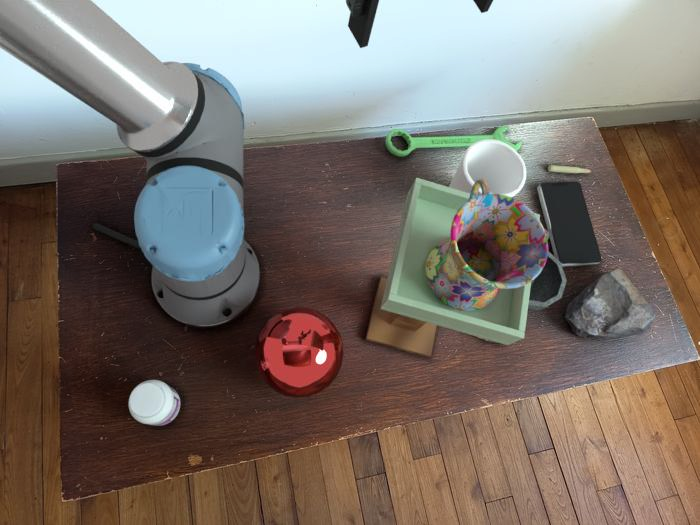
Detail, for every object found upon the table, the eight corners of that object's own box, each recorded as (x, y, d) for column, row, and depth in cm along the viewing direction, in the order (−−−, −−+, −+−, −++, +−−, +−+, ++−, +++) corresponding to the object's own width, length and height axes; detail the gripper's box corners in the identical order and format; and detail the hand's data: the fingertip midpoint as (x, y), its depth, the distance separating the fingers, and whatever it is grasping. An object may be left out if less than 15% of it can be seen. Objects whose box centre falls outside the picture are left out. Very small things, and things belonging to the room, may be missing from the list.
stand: (364, 339, 80) (404, 295, 58) (379, 278, 84) (422, 214, 61) (428, 357, 81) (491, 320, 58) (440, 296, 84) (504, 239, 62)
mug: (507, 315, 58) (557, 287, 48) (424, 317, 56) (458, 288, 46) (490, 214, 62) (534, 168, 52) (412, 213, 60) (442, 166, 50)
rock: (603, 263, 91) (623, 252, 86) (654, 312, 89) (678, 303, 84) (553, 318, 86) (571, 310, 81) (607, 371, 84) (628, 365, 79)
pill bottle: (133, 398, 72) (114, 390, 63) (170, 378, 74) (157, 368, 65) (150, 434, 71) (134, 431, 62) (187, 413, 73) (177, 407, 64)
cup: (443, 171, 92) (469, 129, 80) (496, 189, 92) (531, 150, 80) (430, 221, 88) (456, 185, 76) (486, 240, 89) (521, 207, 77)
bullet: (549, 172, 95) (591, 175, 96) (552, 166, 94) (593, 169, 95) (547, 169, 96) (588, 172, 97) (549, 163, 95) (591, 167, 96)
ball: (251, 400, 75) (248, 390, 63) (258, 316, 79) (257, 293, 68) (336, 403, 76) (348, 394, 65) (339, 321, 80) (351, 299, 69)
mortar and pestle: (550, 313, 86) (593, 292, 75) (497, 322, 84) (533, 302, 73) (530, 248, 89) (568, 219, 78) (478, 256, 88) (510, 227, 76)
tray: (380, 309, 57) (387, 299, 53) (407, 193, 62) (416, 177, 58) (508, 345, 58) (524, 338, 54) (524, 228, 63) (540, 214, 59)
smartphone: (559, 265, 88) (538, 183, 92) (555, 267, 89) (535, 186, 93) (603, 261, 89) (580, 181, 94) (599, 264, 90) (576, 184, 95)
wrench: (520, 122, 95) (526, 149, 94) (515, 128, 97) (521, 154, 96) (384, 126, 91) (388, 154, 89) (381, 132, 93) (386, 160, 91)
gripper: (636, -306, 36) (505, -38, 56) (299, -272, 29) (285, 20, 49) (702, -235, 34) (542, 16, 54) (359, -181, 28) (319, 84, 47)
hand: (419, 18), depth 52 cm, fingers open, 13 cm apart
